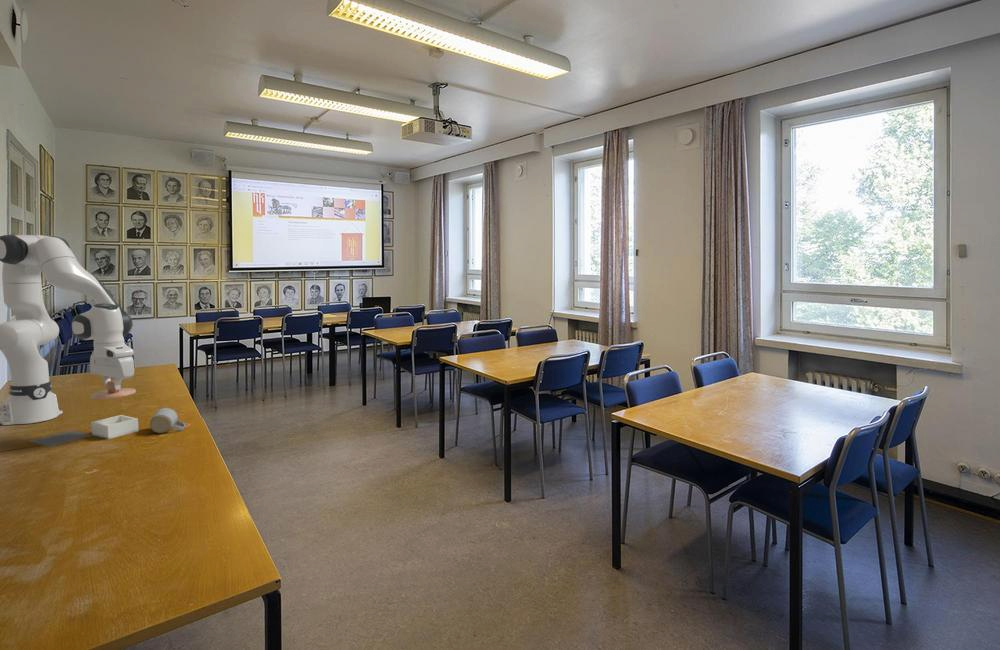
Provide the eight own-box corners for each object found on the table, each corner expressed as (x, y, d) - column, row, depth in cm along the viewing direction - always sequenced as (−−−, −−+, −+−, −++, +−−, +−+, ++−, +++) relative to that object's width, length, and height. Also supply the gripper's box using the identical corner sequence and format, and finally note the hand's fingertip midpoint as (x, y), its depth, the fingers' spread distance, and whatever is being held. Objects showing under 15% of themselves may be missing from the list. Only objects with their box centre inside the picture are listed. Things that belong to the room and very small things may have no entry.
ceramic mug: (148, 435, 189) (148, 414, 188) (154, 428, 197) (154, 408, 196) (183, 432, 193) (182, 412, 192) (187, 426, 201) (186, 406, 200)
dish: (92, 435, 188) (91, 421, 187) (122, 428, 197) (121, 414, 196) (108, 440, 184) (107, 425, 183) (138, 432, 193) (137, 418, 192)
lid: (82, 396, 186) (81, 383, 185) (122, 388, 197) (121, 376, 197) (104, 401, 180) (103, 387, 179) (143, 392, 192) (142, 379, 191)
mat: (28, 441, 181) (28, 440, 181) (72, 431, 192) (72, 430, 192) (48, 448, 175) (48, 446, 175) (92, 436, 187) (92, 435, 187)
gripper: (82, 349, 188) (86, 387, 190) (117, 353, 180) (120, 393, 181) (102, 346, 194) (105, 383, 196) (136, 350, 185) (139, 389, 187)
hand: (113, 388), depth 188 cm, fingers closed on lid, 3 cm apart
